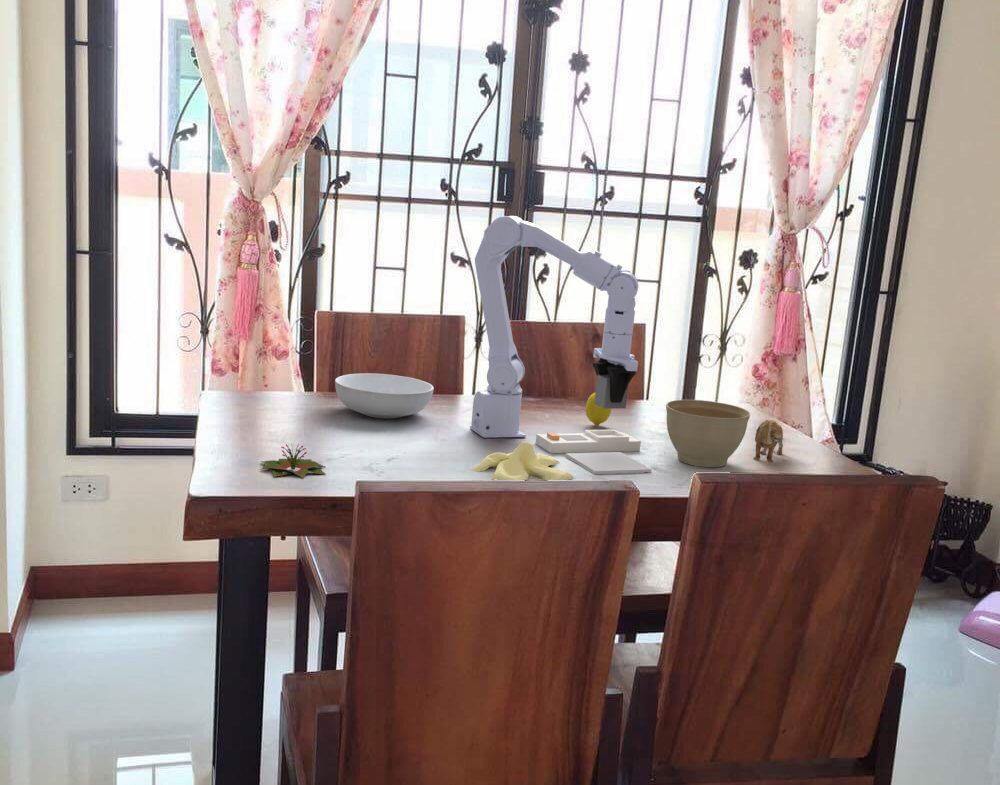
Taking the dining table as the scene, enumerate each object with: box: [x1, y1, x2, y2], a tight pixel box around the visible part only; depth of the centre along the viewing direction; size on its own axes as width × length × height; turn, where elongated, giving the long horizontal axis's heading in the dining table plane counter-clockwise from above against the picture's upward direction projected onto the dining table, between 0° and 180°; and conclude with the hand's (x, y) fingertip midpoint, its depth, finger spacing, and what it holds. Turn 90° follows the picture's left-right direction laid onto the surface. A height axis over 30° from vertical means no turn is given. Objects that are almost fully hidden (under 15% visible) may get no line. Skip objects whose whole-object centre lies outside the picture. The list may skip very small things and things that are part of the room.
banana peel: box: [469, 440, 574, 481], centre depth 181 cm, size 22×19×6 cm
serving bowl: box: [334, 372, 435, 419], centre depth 215 cm, size 21×21×7 cm
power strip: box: [535, 429, 642, 454], centre depth 202 cm, size 20×7×3 cm, turn 113°
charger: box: [594, 375, 630, 409], centre depth 202 cm, size 5×4×6 cm
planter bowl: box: [665, 399, 751, 468], centre depth 198 cm, size 16×16×11 cm
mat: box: [565, 451, 653, 475], centre depth 191 cm, size 12×12×1 cm
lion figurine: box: [753, 419, 784, 463], centre depth 206 cm, size 15×5×9 cm, turn 160°
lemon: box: [585, 391, 612, 427], centre depth 221 cm, size 6×6×8 cm
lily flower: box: [258, 443, 326, 479], centre depth 170 cm, size 12×12×5 cm
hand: (610, 399), depth 202 cm, fingers closed on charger, 4 cm apart
